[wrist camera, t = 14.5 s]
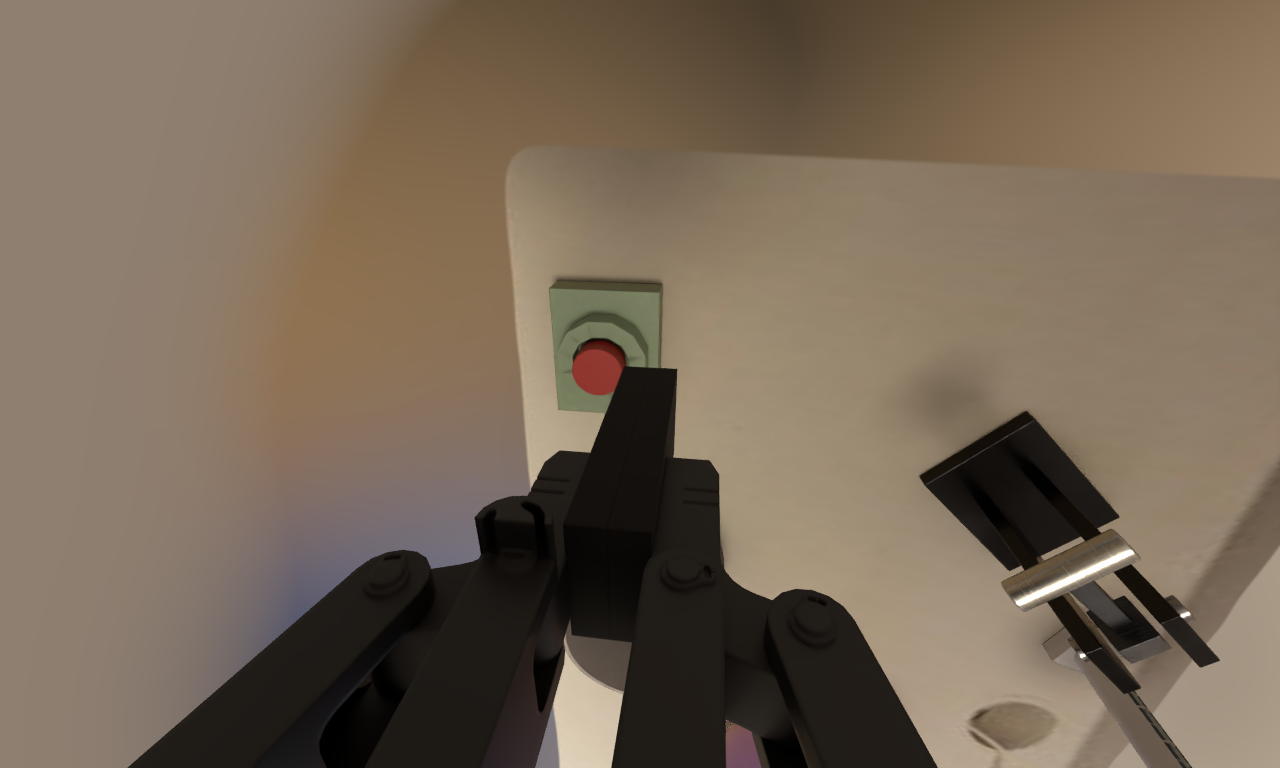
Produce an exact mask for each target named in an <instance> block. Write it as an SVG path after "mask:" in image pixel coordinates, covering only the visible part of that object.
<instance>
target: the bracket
mask: <svg viewBox="0 0 1280 768" xmlns="http://www.w3.org/2000/svg"><path fill="white" fill-rule="evenodd" d="M920 478H921V480H922V482H923V483H924V485H925V486H926V487H927V488H928V489H929V490H930V491H931V492H932V493H933V494H934V495H935V496H936V497H937V498H938V499H939V500H940V501H941V502H942V503H943V504H944V505H945V506H946V508H947V509H948V510H949V511H950V512H951V513H952V514H953V515H954V516H955V517H956V518H957V519H958V520H959V521H960V522H961V523H962V524H963V525H964V526H965V527H966V528H967V529H968V530H969V531H970V532H971V533H972V534H973V535H974V536H975V537H976V538H977V539H978V540H979V541H980V542H981V543H982V544H983V545H984V546H985V547H986V548H987V549H988V550H989V551H990V552H991V553H992V554H993V555H994V556H995V557H996V558H997V559H998V560H999V561H1000V562H1001V563H1002V564H1003V565H1004V566H1005V567H1006V569H1007V570H1009V571H1011V570H1013V569H1015V568H1017V567H1019V566H1022V567H1023V569H1024V570H1026V569H1028V568H1031V567H1033V566H1035V565H1037V564H1039V563H1041V562H1043V561H1044V560H1043V559H1042V557H1041V556H1042V555H1044V554H1046V553H1048V552H1050V551H1052V550H1054V549H1056V548H1058V547H1060V546H1062V545H1064V544H1066V543H1068V542H1070V541H1072V540H1074V539H1077V538H1079V537H1082V538H1083V539H1084V540H1085V541H1087V540H1089V539H1091V538H1093V537H1095V536H1097V535H1099V534H1101V532H1100V531H1099V530H1098V529H1097V528H1099V527H1101V526H1103V525H1105V524H1107V523H1109V522H1111V521H1113V520H1115V519H1118V518H1119V515H1118V514H1117V513H1116V512H1115V511H1114V509H1113V508H1112V507H1111V506H1110V505H1109V504H1108V502H1107V501H1106V500H1105V499H1104V498H1103V497H1102V496H1101V494H1100V493H1099V492H1098V491H1097V490H1096V489H1095V488H1094V486H1093V485H1092V484H1091V483H1090V482H1089V481H1088V479H1087V478H1086V477H1085V476H1084V475H1083V474H1082V473H1081V471H1080V470H1079V469H1078V468H1077V467H1076V466H1075V464H1074V463H1073V462H1072V461H1071V460H1070V459H1069V458H1068V456H1067V455H1066V454H1065V453H1064V452H1063V451H1062V450H1061V448H1060V447H1059V446H1058V445H1057V444H1056V443H1055V441H1054V440H1053V439H1052V438H1051V437H1050V436H1049V435H1048V433H1047V432H1046V431H1045V430H1044V429H1043V428H1042V426H1041V425H1040V424H1039V423H1038V422H1037V421H1036V420H1035V419H1034V418H1033V417H1032V416H1031V415H1030V414H1029V413H1028V412H1025V413H1023V414H1022V415H1020V416H1018V417H1017V418H1015V419H1014V420H1012V421H1010V422H1009V423H1007V424H1005V425H1004V426H1002V427H1000V428H999V429H997V430H995V431H994V432H992V433H990V434H989V435H987V436H986V437H984V438H982V439H981V440H979V441H977V442H976V443H974V444H972V445H971V446H969V447H967V448H966V449H964V450H962V451H961V452H959V453H958V454H956V455H954V456H953V457H951V458H949V459H948V460H946V461H944V462H943V463H941V464H939V465H938V466H936V467H935V468H933V469H931V470H930V471H928V472H926V473H925V474H923V475H921V476H920ZM1114 573H1115V574H1116V576H1117V577H1118V578H1119V579H1120V580H1121V581H1122V582H1123V583H1124V584H1125V585H1126V587H1127V588H1128V589H1129V590H1130V591H1131V592H1132V593H1133V594H1134V595H1135V596H1136V598H1137V599H1138V600H1139V601H1140V602H1141V603H1142V604H1143V605H1144V606H1145V608H1146V609H1147V610H1148V611H1149V612H1150V613H1151V614H1152V615H1153V616H1154V617H1155V619H1156V620H1157V621H1158V622H1159V623H1160V624H1161V625H1162V626H1163V627H1164V629H1165V630H1166V631H1167V632H1168V633H1169V634H1170V635H1171V636H1172V637H1173V638H1174V640H1175V641H1176V642H1177V643H1178V644H1179V645H1180V646H1181V647H1182V648H1183V649H1184V651H1185V652H1186V653H1187V654H1188V655H1189V656H1190V657H1191V658H1192V659H1193V660H1194V662H1195V663H1196V664H1197V665H1198V666H1199V667H1204V666H1206V665H1209V664H1212V663H1215V662H1218V661H1220V660H1219V658H1218V657H1217V656H1216V655H1215V654H1214V653H1213V651H1212V650H1211V649H1210V648H1209V647H1208V646H1207V645H1206V644H1205V642H1204V641H1203V640H1202V639H1201V638H1200V637H1199V636H1198V635H1197V633H1196V632H1195V631H1194V630H1193V629H1192V628H1191V627H1190V626H1189V624H1188V623H1189V622H1191V621H1194V620H1196V619H1195V617H1194V616H1193V615H1192V614H1191V613H1190V612H1189V611H1188V610H1187V609H1186V608H1185V607H1184V606H1183V605H1182V604H1181V602H1180V601H1179V600H1178V599H1177V598H1176V597H1174V596H1173V595H1171V596H1169V597H1166V598H1163V597H1162V596H1161V595H1160V594H1159V593H1158V592H1157V591H1156V589H1155V588H1154V587H1153V586H1152V585H1151V584H1150V583H1149V582H1148V581H1147V580H1146V579H1145V578H1144V577H1143V576H1142V575H1141V574H1140V573H1139V572H1138V571H1137V570H1136V569H1135V568H1134V567H1133V566H1132V565H1131V564H1130V565H1128V566H1126V567H1124V568H1121V569H1119V570H1117V571H1115V572H1114ZM1047 603H1048V604H1049V605H1050V607H1051V608H1052V610H1053V611H1054V613H1055V614H1056V615H1057V617H1058V618H1059V620H1060V621H1061V622H1062V624H1063V625H1064V627H1065V628H1066V630H1067V631H1068V632H1069V634H1070V635H1071V637H1070V638H1068V639H1067V640H1068V642H1069V644H1070V645H1071V647H1072V648H1073V649H1074V651H1075V652H1076V653H1077V654H1078V656H1079V657H1080V658H1081V659H1082V660H1083V661H1084V662H1089V661H1091V662H1092V663H1093V664H1094V665H1095V666H1096V667H1097V668H1098V669H1099V670H1100V671H1101V672H1102V673H1103V674H1104V675H1105V676H1106V677H1107V678H1108V679H1109V680H1110V681H1111V682H1112V683H1113V684H1114V685H1115V686H1116V687H1117V688H1118V689H1119V690H1120V691H1121V692H1122V693H1123V694H1127V693H1130V692H1132V691H1135V690H1138V689H1141V686H1140V685H1139V684H1138V682H1137V681H1136V680H1135V678H1134V677H1133V676H1132V675H1131V673H1130V672H1129V671H1128V669H1127V668H1126V667H1125V665H1124V664H1123V663H1122V662H1121V660H1120V659H1119V658H1118V656H1117V655H1116V654H1115V652H1114V651H1113V650H1112V649H1111V647H1110V646H1109V645H1108V643H1107V642H1106V641H1105V639H1104V638H1103V637H1102V635H1101V634H1100V633H1099V632H1098V630H1097V629H1096V628H1095V626H1094V625H1093V624H1092V622H1091V621H1090V620H1089V619H1088V617H1087V616H1086V615H1085V613H1084V612H1083V611H1082V609H1081V608H1080V607H1079V606H1078V604H1077V603H1076V602H1075V600H1074V599H1073V598H1072V596H1071V595H1070V594H1069V593H1066V594H1064V595H1061V596H1059V597H1057V598H1055V599H1052V600H1050V601H1048V602H1047Z"/></svg>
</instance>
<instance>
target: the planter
mask: <svg viewBox="0 0 1280 768" xmlns="http://www.w3.org/2000/svg"><path fill="white" fill-rule="evenodd" d="M720 557H721V563H722V565H723V567H724V558H723V553H722V549H721V547H720ZM631 645H632V643H631V642H622V641H614V640H606V639H597V638H589V637H580V636H572V634H571V621H569V624H568V628H567V631H566V635H565V638H564V646H565V649H566V652H567V654H568V655H569V657H570V659H571V660H572V662H573V663H574V664H575V665H576V666H577V667H578V668H579V669H580V670H581V671H582V672H583V673H584V674H585V675H587V676H588V677H589V678H591V679H592V680H594V681H595V682H597V683H599V684H600V685H602V686H604V687H606V688H608V689H611V690H613V691H616V692H619V693H622V694H624V688H625V682H626V676H627V670H628V664H629V658H630V651H631Z"/></svg>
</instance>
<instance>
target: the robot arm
mask: <svg viewBox="0 0 1280 768" xmlns="http://www.w3.org/2000/svg"><path fill="white" fill-rule="evenodd" d="M676 386H677V369H667V368H649V367H632V366H624V367H623V370H622V372H621V375H620V378H619V380H618V383H617V385H616V388H615V391H614V393H613V396H612V398H611V401H610V404H609V406H608V409H607V411H606V414H605V417H604V419H603V422H602V424H601V427H600V430H599V432H598V435H597V437H596V440H595V442H594V445H593V448H592V450H591V453H586V452H573V451H558V452H557V453H556V454H555V455H553V456H552V457H551V458H550V459H548V460H547V461H546V462H545V463H544V465H543V467H542V469H541V471H540V472H539V474H538V476H537V480H535V482H534V484H533V486H532V488H531V492H529V494H528V496H512V497H507V498H504V499H501V500H497V501H495V502H493V503H491V504H489V505H488V506H486V507H484V508H483V509H482V510H481V511H480V512H479V513H478V514H477V516H476V517H475V522H476V528H477V533H478V539H479V545H480V551H481V556H480V557H479V559H478V560H475V561H473V562H469V563H465V564H460V565H454V566H447V567H441V568H434V569H431V567H430V565H429V563H428V560H427V558H426V557H424V556H422V555H421V554H419V553H418V552H415V551H407V550H399V551H393V552H387V553H384V554H382V555H379V556H377V557H374V558H372V559H370V560H369V561H367V562H366V563H364V564H363V565H362V566H360V567H359V568H357V569H356V570H355V571H354V572H352V573H351V574H350V575H349V576H348V577H347V578H346V579H345V580H343V581H342V582H341V583H340V584H339V585H337V586H336V587H335V588H334V589H333V590H332V591H331V592H329V593H328V594H327V595H326V596H325V597H324V598H323V599H321V600H320V601H319V602H318V603H317V604H316V605H315V606H313V607H312V608H311V609H310V610H309V611H308V612H306V613H305V614H304V615H303V616H302V617H301V618H299V619H298V620H297V621H296V622H295V623H294V624H293V625H291V626H290V627H289V628H288V629H287V630H286V631H284V632H283V633H282V634H281V635H280V636H279V637H278V638H276V639H275V640H274V641H273V642H272V643H271V644H270V645H268V646H267V647H266V648H265V649H264V650H263V651H262V652H260V653H259V654H258V655H257V656H256V657H255V658H253V659H252V660H251V661H250V662H249V663H248V664H246V665H245V666H244V667H243V668H242V669H241V670H240V671H238V672H237V673H236V674H235V675H234V676H233V677H231V678H230V679H229V680H228V681H227V682H226V683H225V684H224V685H222V686H221V687H220V688H219V689H218V690H216V691H215V692H214V693H213V694H212V695H211V696H210V697H208V698H207V699H206V700H205V701H204V702H203V703H201V704H200V705H199V706H198V707H197V708H196V709H195V710H194V711H192V712H191V713H190V714H189V715H188V716H187V717H185V718H184V719H183V720H182V721H181V722H180V723H178V724H177V725H176V726H175V727H174V728H173V729H172V730H170V731H169V732H168V733H167V734H166V735H165V736H164V737H162V738H161V739H160V740H159V741H158V742H157V743H155V744H154V745H153V746H152V747H151V748H150V749H148V750H147V751H146V752H145V753H144V754H143V755H142V756H140V757H139V758H138V759H137V760H136V761H135V762H134V763H132V764H131V765H130V766H129V767H128V768H535V766H536V762H537V759H538V755H539V752H540V748H541V744H542V741H543V737H544V733H545V730H546V727H547V723H548V719H549V716H550V712H551V709H552V705H553V702H554V698H555V694H556V691H557V687H558V684H559V680H560V676H561V673H562V669H563V666H564V658H565V646H564V638H565V635H566V631H567V628H568V624H569V621H571V634H572V636H580V637H589V638H597V639H606V640H614V641H622V642H631V643H632V645H631V651H630V658H629V664H628V670H627V676H626V682H625V688H624V694H623V700H622V706H621V712H620V718H619V724H618V731H617V737H616V743H615V749H614V755H613V761H612V767H611V768H726V724H725V719H727V720H729V721H731V722H733V723H735V724H737V725H739V726H741V727H743V728H745V729H747V730H749V731H751V732H752V737H753V740H754V744H755V747H756V751H757V754H758V758H759V761H760V765H761V768H938V767H937V765H936V763H935V762H934V760H933V758H932V756H931V755H930V753H929V751H928V749H927V748H926V746H925V744H924V742H923V740H922V739H921V737H920V735H919V733H918V732H917V730H916V728H915V726H914V725H913V723H912V721H911V719H910V718H909V716H908V714H907V712H906V710H905V709H904V707H903V705H902V703H901V702H900V700H899V698H898V696H897V695H896V693H895V691H894V689H893V687H892V686H891V684H890V682H889V680H888V679H887V677H886V675H885V673H884V672H883V670H882V668H881V666H880V664H879V663H878V661H877V659H876V657H875V656H874V654H873V652H872V650H871V649H870V647H869V645H868V643H867V641H866V640H865V638H864V636H863V634H862V633H861V631H860V629H859V627H858V626H857V624H856V622H855V620H854V619H853V618H852V616H851V615H850V614H849V613H848V612H847V610H846V609H845V608H844V607H843V606H842V605H841V604H839V603H838V602H836V601H835V600H833V599H832V598H830V597H829V596H827V595H824V594H821V593H818V592H816V591H813V590H803V589H794V590H790V591H787V592H783V593H781V594H780V595H778V596H777V597H776V598H775V599H774V600H770V599H767V598H765V597H762V596H760V595H757V594H754V593H752V592H750V591H748V590H746V589H744V588H742V587H741V586H740V585H738V584H737V583H736V582H734V581H733V580H732V579H731V577H730V576H729V575H728V574H727V573H726V571H725V569H724V567H723V565H722V563H721V557H720V507H719V474H718V472H717V471H716V469H715V468H714V466H713V465H712V463H711V462H710V461H709V460H696V459H683V458H673V455H674V436H675V411H676Z"/></svg>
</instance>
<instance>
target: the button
mask: <svg viewBox="0 0 1280 768" xmlns="http://www.w3.org/2000/svg"><path fill="white" fill-rule="evenodd" d="M624 366H626V360H625V357H624V355H623V353H622V351H621V350H620V349H619V348H618V347H617V346H616V345H614V344H612V343H610V342H608V341H603V340H596V341H592V342H589V343H587V344H586V345H585V346H583V347H582V349H581V350H580V352H579V353H578V355H577V357H576V358H575V360H574V362H573V365H572V374H573V377H574V380H575V382H576V383H577V385H578V386H579V387H580V388H581V389H582V390H584V391H585V392H587V393H590V394H593V395H606V394H609V393H611V392H613V391H615V388H616V385H617V383H618V380H619V378H620V375H621V372H622V370H623V367H624Z"/></svg>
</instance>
